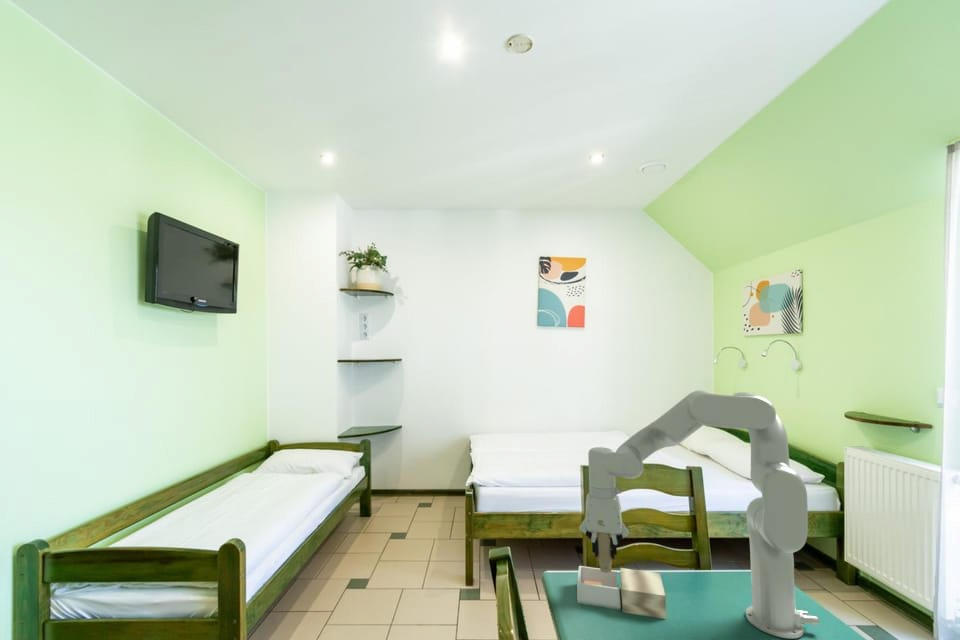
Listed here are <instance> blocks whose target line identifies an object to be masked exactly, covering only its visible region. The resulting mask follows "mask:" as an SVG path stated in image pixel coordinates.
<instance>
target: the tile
mask: <svg viewBox="0 0 960 640" xmlns="http://www.w3.org/2000/svg"><path fill="white" fill-rule="evenodd" d="M584 583H587V584H594V585H601V586H602V583H601V582H594V581H586V580H584Z"/></svg>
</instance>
